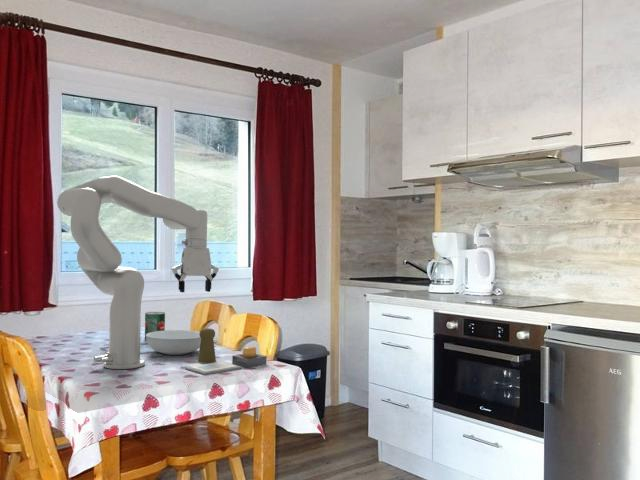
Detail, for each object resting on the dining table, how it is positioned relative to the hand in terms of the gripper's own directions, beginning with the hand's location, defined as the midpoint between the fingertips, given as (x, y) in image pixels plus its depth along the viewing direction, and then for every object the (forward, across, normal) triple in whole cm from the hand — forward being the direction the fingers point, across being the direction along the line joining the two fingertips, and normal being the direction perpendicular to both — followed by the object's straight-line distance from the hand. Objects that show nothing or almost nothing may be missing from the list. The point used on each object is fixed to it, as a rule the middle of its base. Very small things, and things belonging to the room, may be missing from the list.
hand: (195, 291), depth 211 cm
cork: (+23, -1, -14) cm, 27 cm away
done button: (+20, +10, -25) cm, 34 cm away
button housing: (+22, +10, -25) cm, 35 cm away
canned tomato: (+22, -3, +37) cm, 43 cm away
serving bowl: (+23, -5, +6) cm, 24 cm away
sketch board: (+22, -3, -26) cm, 35 cm away
